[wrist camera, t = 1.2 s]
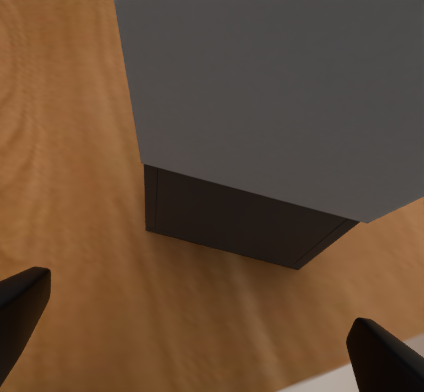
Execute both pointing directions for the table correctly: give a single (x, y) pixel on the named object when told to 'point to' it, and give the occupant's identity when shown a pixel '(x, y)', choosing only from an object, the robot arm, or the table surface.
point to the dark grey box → (237, 219)
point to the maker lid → (283, 97)
